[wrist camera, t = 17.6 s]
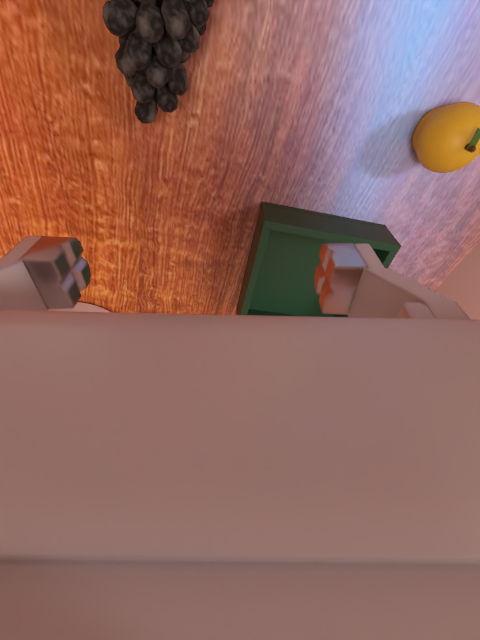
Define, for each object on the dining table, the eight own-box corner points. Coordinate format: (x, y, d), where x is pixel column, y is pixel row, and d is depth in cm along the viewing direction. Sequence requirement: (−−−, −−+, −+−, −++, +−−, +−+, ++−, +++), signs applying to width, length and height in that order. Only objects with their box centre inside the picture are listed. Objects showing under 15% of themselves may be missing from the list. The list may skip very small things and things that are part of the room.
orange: (447, 165, 34) (485, 187, 28) (396, 160, 33) (425, 181, 28) (480, 101, 30) (530, 113, 25) (422, 94, 29) (461, 105, 24)
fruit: (151, 152, 25) (204, -167, 15) (61, 104, 25) (54, -246, 15) (196, 139, 31) (253, -88, 21) (125, 101, 31) (149, -142, 22)
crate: (332, 322, 49) (340, 346, 45) (236, 307, 47) (236, 331, 44) (384, 225, 38) (401, 245, 34) (261, 201, 36) (264, 220, 32)
